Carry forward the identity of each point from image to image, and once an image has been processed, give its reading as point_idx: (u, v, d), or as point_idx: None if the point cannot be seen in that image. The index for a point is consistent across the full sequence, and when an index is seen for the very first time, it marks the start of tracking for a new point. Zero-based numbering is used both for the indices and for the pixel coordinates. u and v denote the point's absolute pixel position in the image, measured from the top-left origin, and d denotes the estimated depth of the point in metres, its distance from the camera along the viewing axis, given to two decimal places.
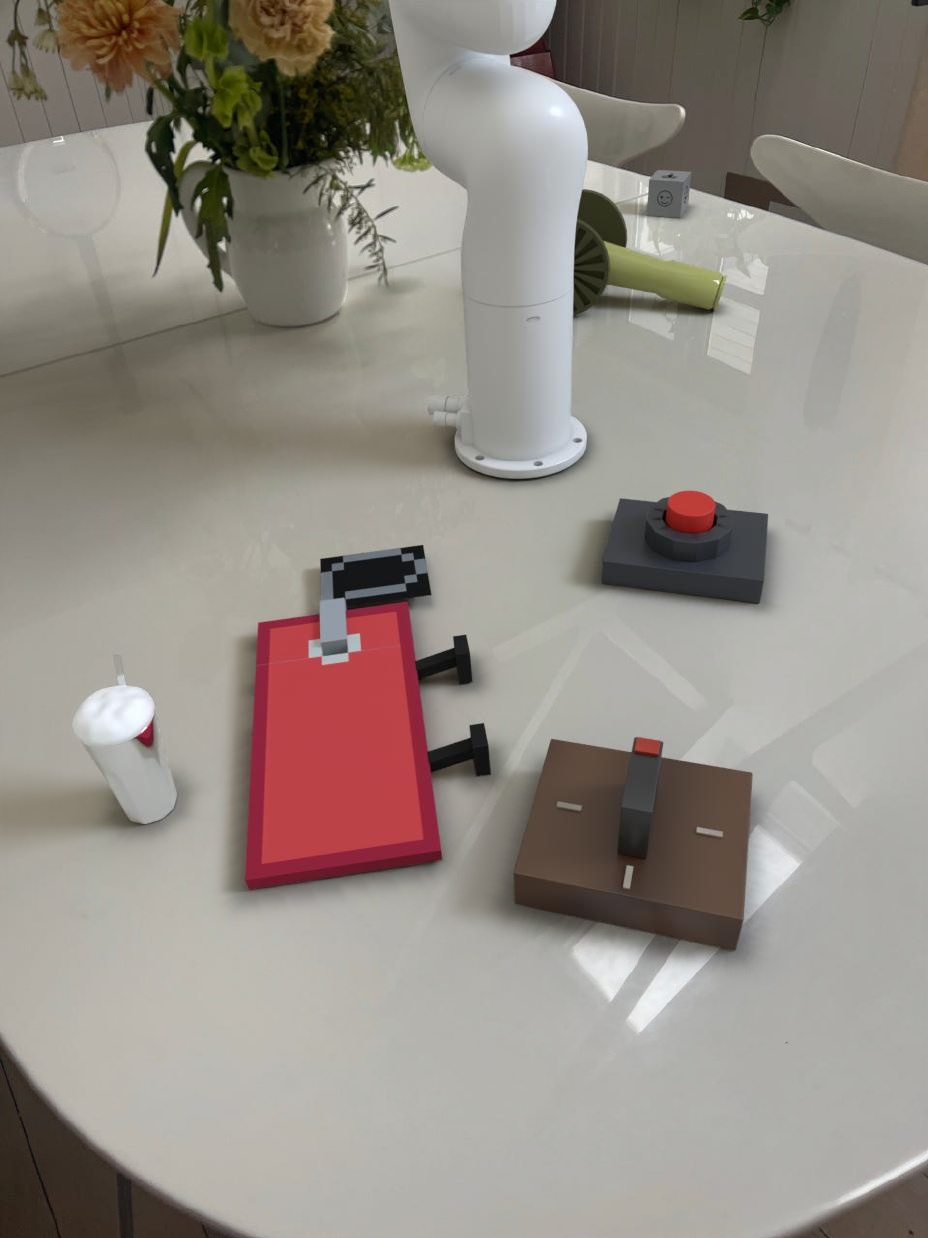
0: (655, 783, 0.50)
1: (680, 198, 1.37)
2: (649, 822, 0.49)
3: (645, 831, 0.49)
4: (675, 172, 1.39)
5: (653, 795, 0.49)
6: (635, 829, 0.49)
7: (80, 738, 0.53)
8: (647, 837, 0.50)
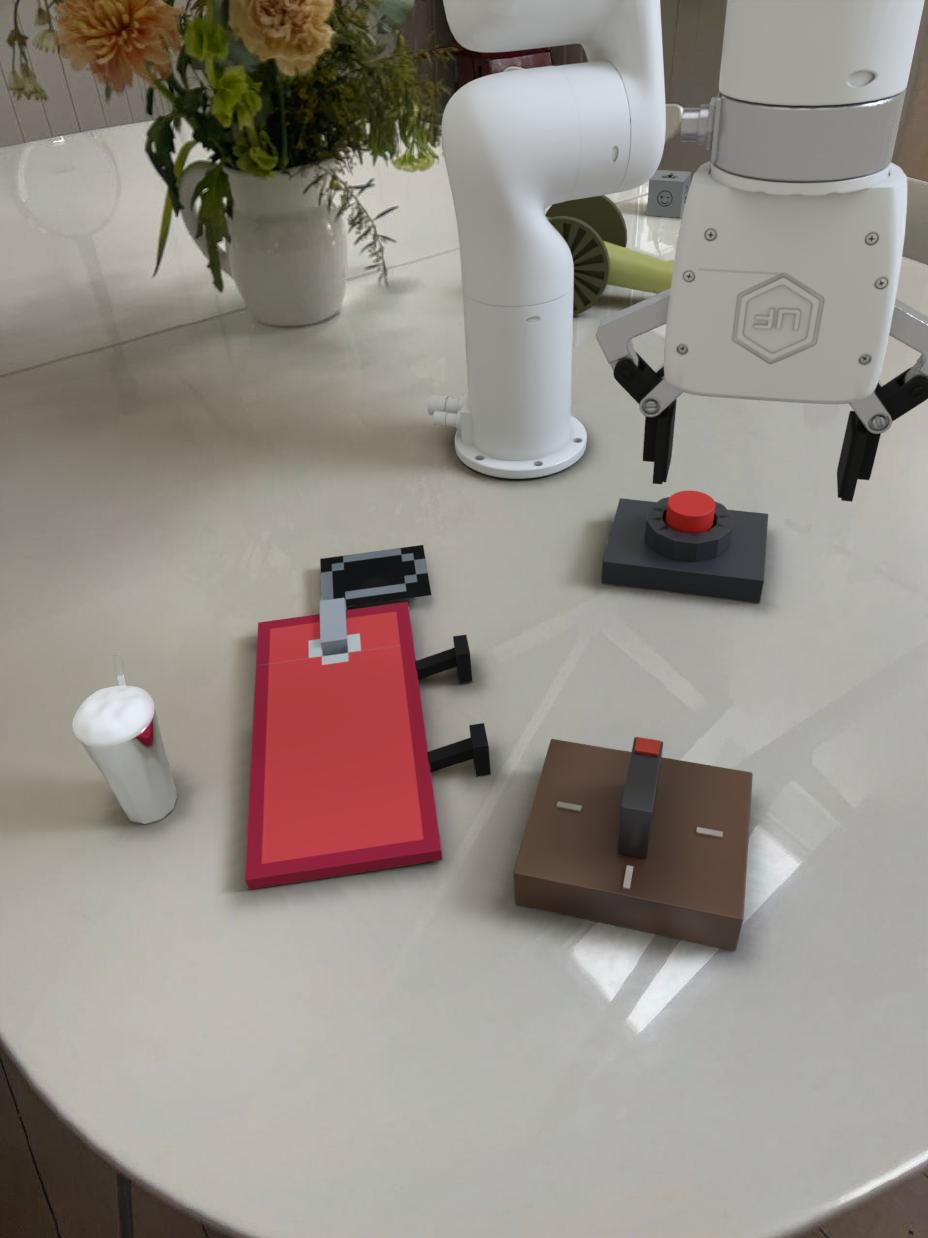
0: (655, 783, 0.50)
1: (680, 198, 1.37)
2: (649, 822, 0.49)
3: (645, 831, 0.49)
4: (675, 172, 1.39)
5: (653, 795, 0.49)
6: (635, 829, 0.49)
7: (80, 738, 0.53)
8: (647, 837, 0.50)
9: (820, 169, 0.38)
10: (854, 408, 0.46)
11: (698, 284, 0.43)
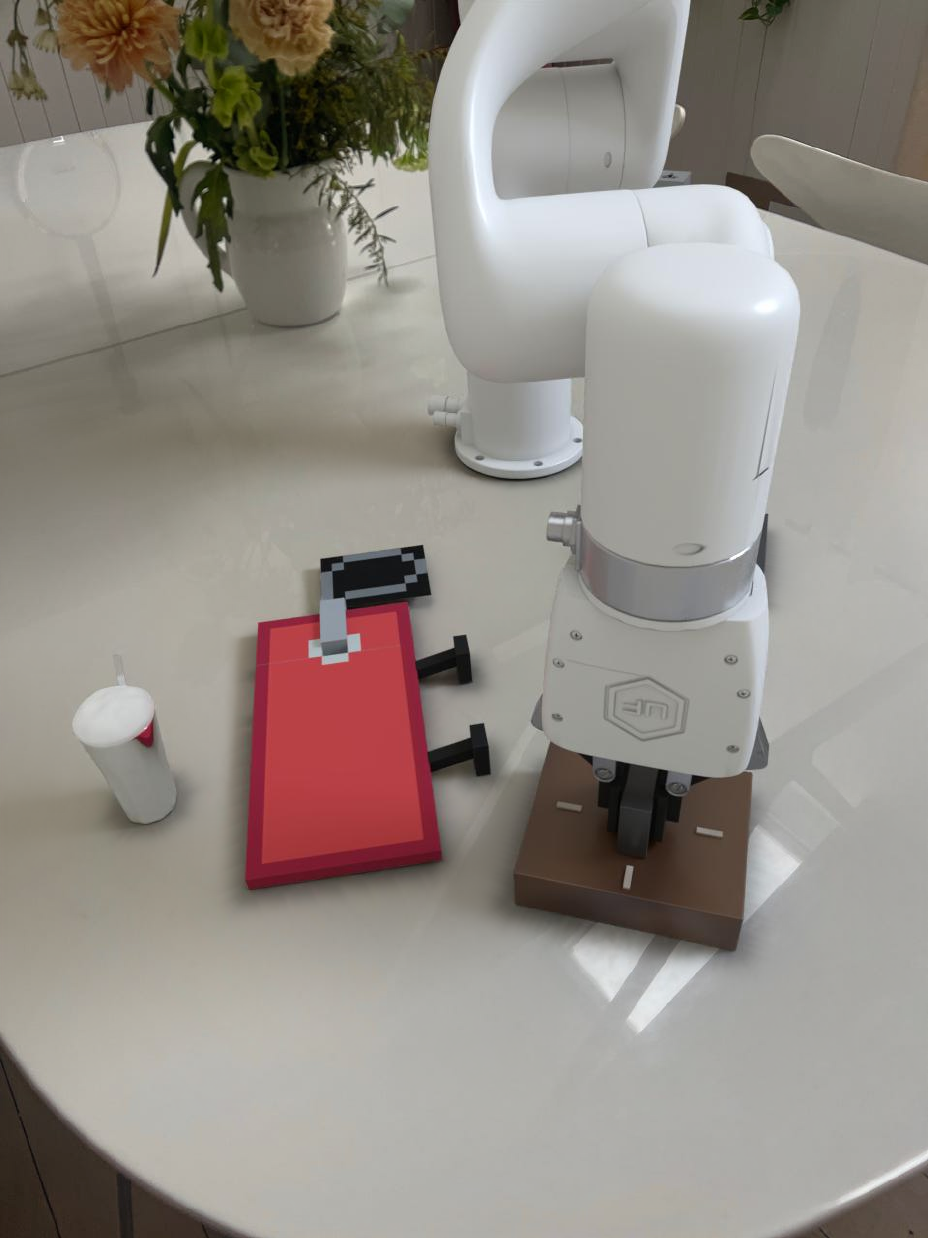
0: (655, 783, 0.50)
1: None
2: (648, 822, 0.49)
3: (644, 831, 0.49)
4: (675, 172, 1.39)
5: (652, 795, 0.49)
6: (634, 829, 0.49)
7: (80, 738, 0.53)
8: (646, 837, 0.50)
9: (672, 613, 0.38)
10: None
11: (567, 671, 0.43)
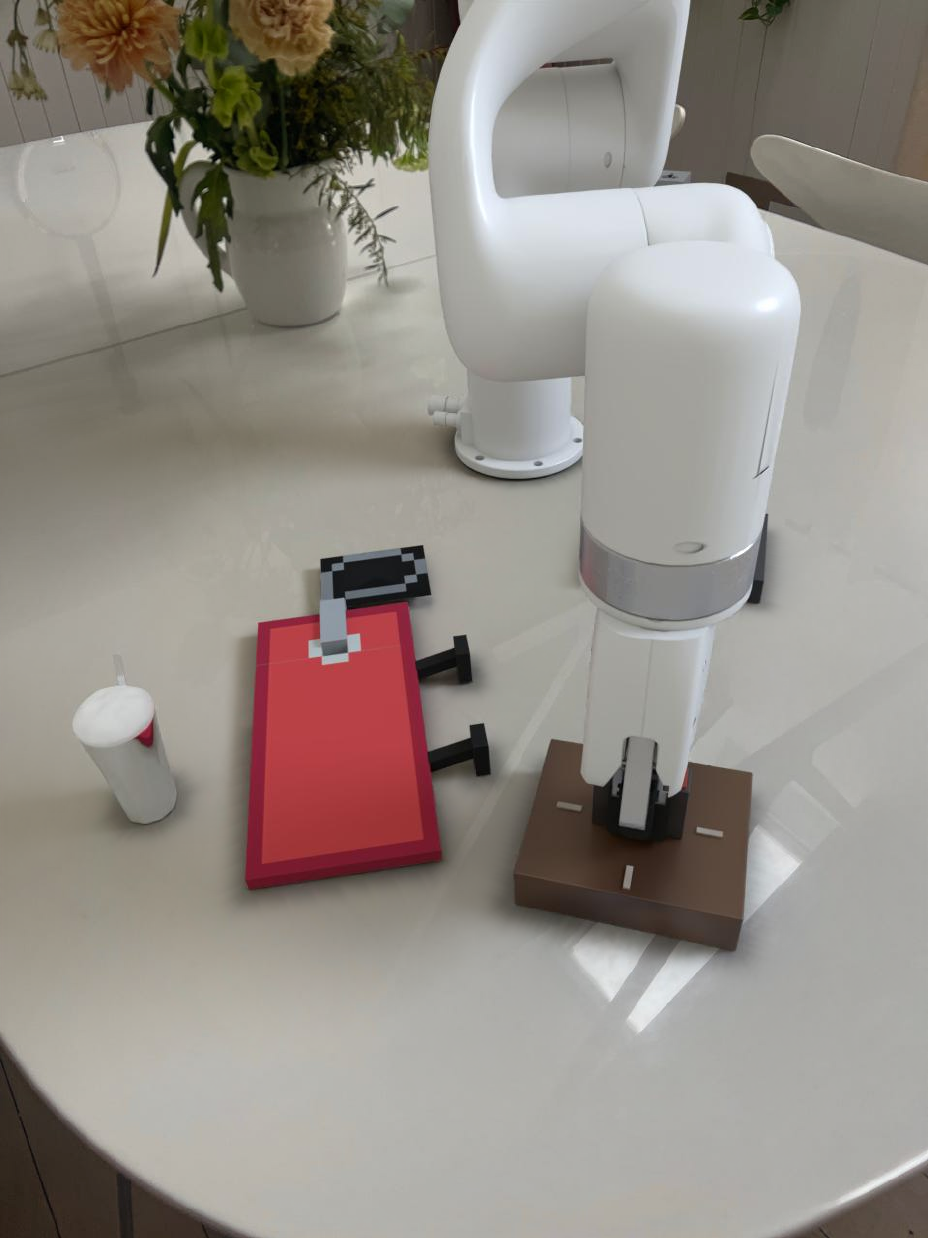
0: None
1: None
2: (593, 785, 0.51)
3: (593, 793, 0.51)
4: (675, 172, 1.39)
5: None
6: None
7: (80, 738, 0.53)
8: None
9: (579, 557, 0.41)
10: None
11: None
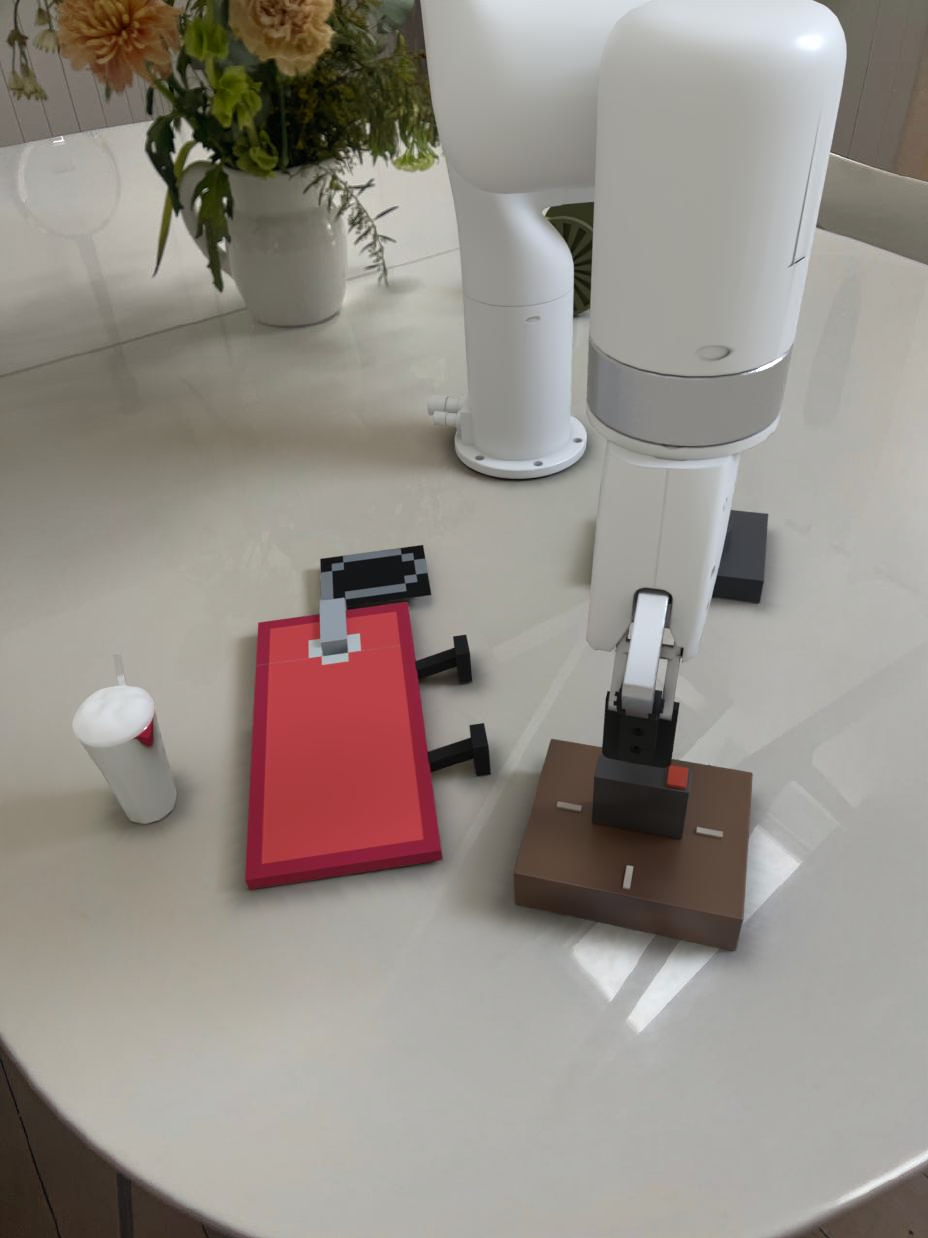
0: (630, 781, 0.50)
1: None
2: (593, 786, 0.51)
3: (593, 793, 0.51)
4: None
5: (614, 778, 0.50)
6: None
7: (80, 738, 0.53)
8: None
9: None
10: None
11: None
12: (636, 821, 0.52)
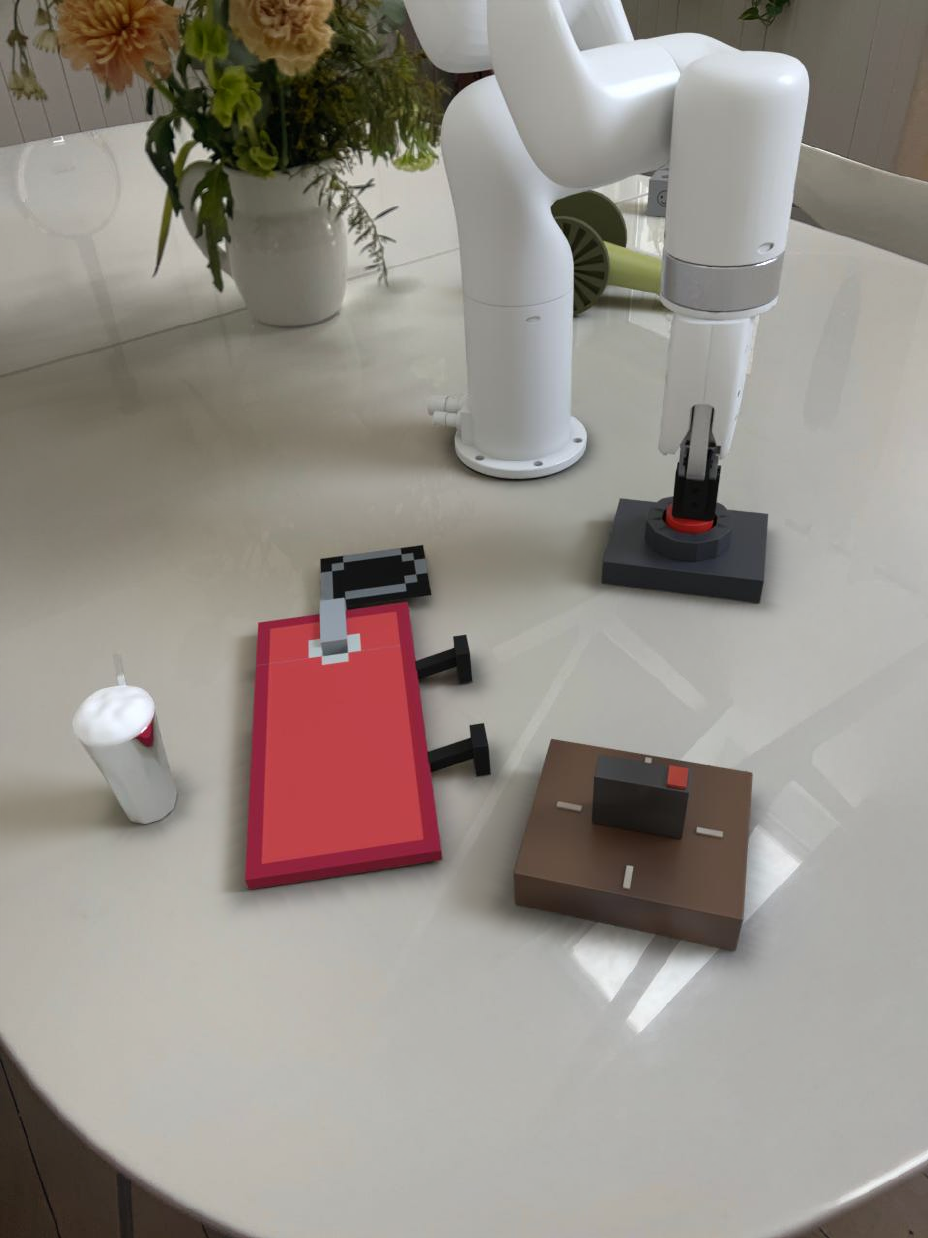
0: (630, 781, 0.50)
1: None
2: (593, 786, 0.51)
3: (593, 793, 0.51)
4: None
5: (614, 778, 0.50)
6: None
7: (80, 738, 0.53)
8: None
9: None
10: None
11: None
12: (636, 821, 0.52)
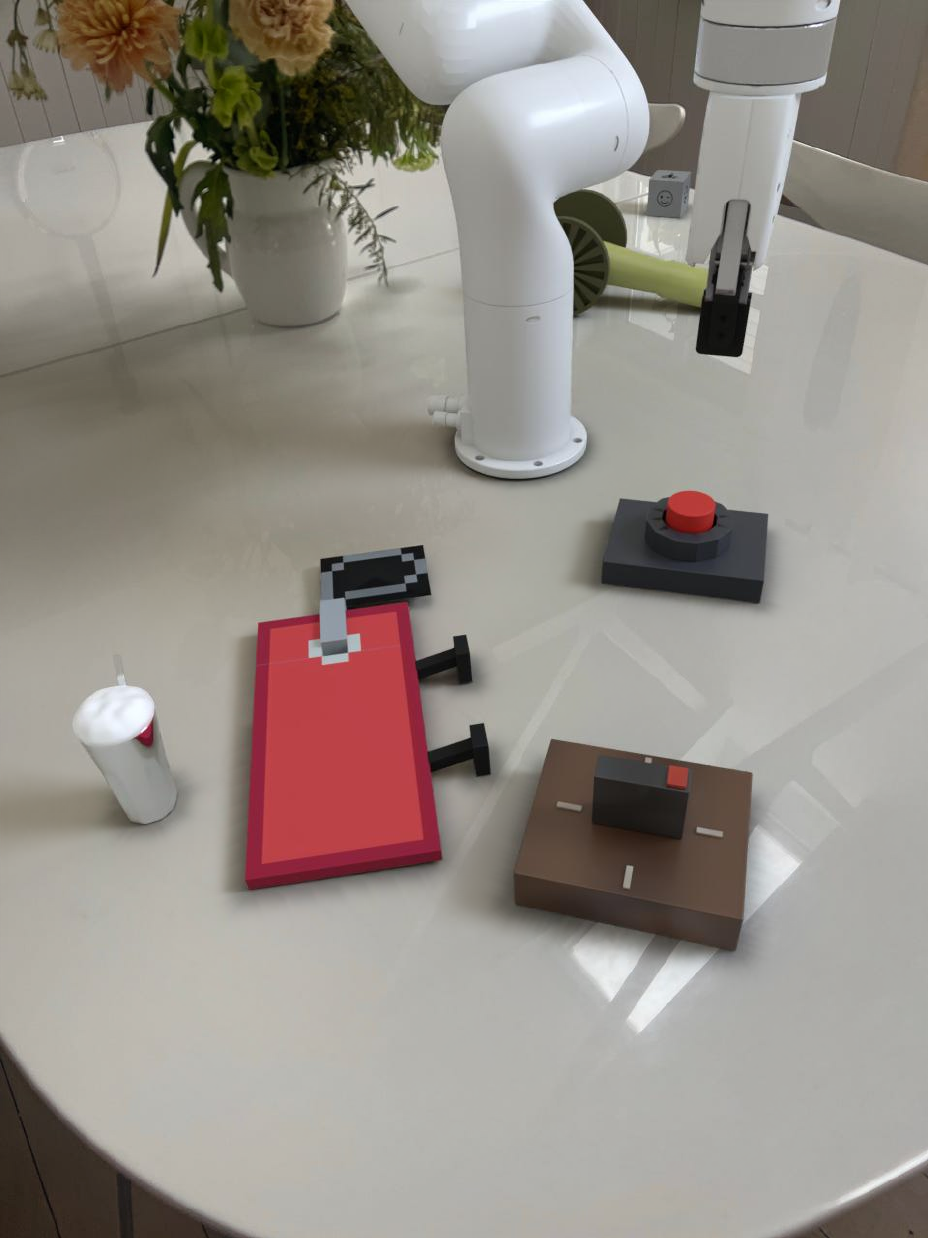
0: (630, 781, 0.50)
1: (680, 198, 1.37)
2: (593, 786, 0.51)
3: (593, 793, 0.51)
4: (675, 172, 1.39)
5: (614, 778, 0.50)
6: None
7: (80, 738, 0.53)
8: None
9: (695, 62, 0.55)
10: None
11: None
12: (636, 821, 0.52)
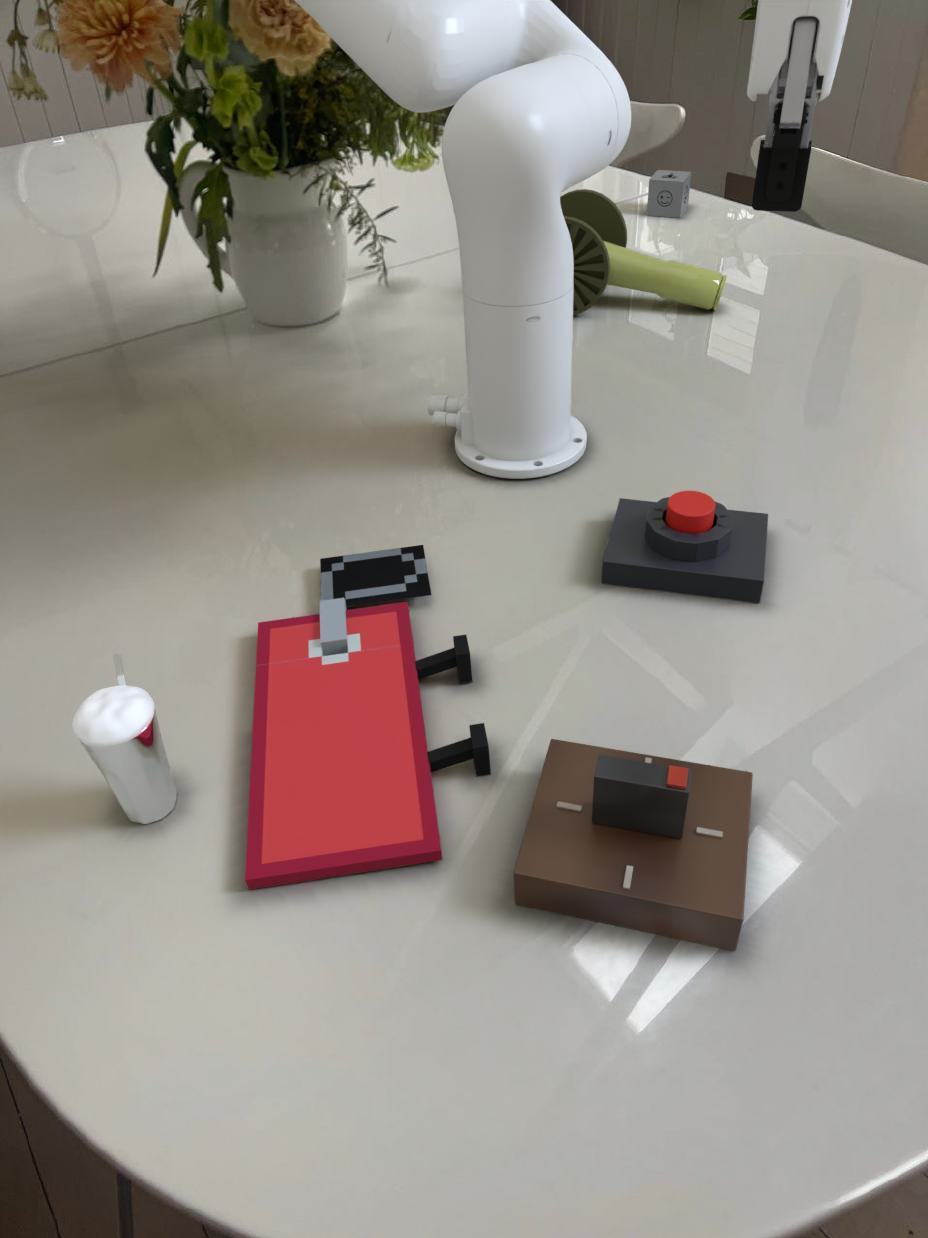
0: (630, 781, 0.50)
1: (680, 198, 1.37)
2: (593, 786, 0.51)
3: (593, 793, 0.51)
4: (675, 172, 1.39)
5: (614, 778, 0.50)
6: None
7: (80, 738, 0.53)
8: None
9: None
10: None
11: None
12: (636, 821, 0.52)
